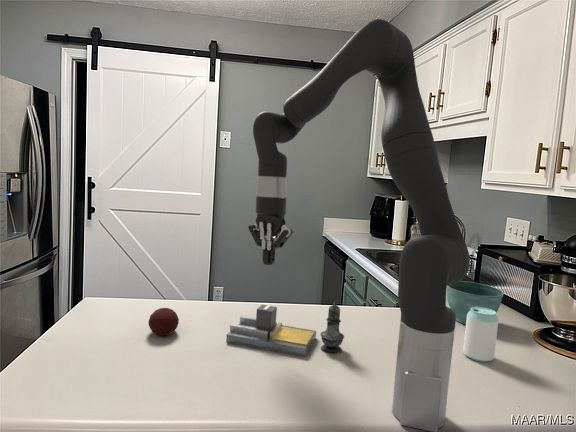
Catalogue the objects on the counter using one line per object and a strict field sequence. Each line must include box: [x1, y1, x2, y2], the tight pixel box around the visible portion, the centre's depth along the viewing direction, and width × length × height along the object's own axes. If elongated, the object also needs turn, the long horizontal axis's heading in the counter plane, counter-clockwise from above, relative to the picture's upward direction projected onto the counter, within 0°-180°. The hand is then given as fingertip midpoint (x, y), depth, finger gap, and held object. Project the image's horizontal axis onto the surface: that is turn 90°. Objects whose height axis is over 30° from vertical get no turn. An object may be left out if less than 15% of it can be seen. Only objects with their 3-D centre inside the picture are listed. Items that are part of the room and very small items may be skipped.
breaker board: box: [226, 315, 317, 358], centre depth 105 cm, size 12×20×4 cm, turn 74°
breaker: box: [255, 304, 278, 335], centre depth 105 cm, size 4×4×6 cm
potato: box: [148, 307, 180, 337], centre depth 106 cm, size 7×10×6 cm
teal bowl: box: [446, 280, 504, 325], centre depth 129 cm, size 16×16×11 cm
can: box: [462, 307, 499, 363], centre depth 103 cm, size 7×7×12 cm
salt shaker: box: [320, 301, 345, 355], centre depth 102 cm, size 6×6×12 cm
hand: (268, 264), depth 104 cm, fingers closed
